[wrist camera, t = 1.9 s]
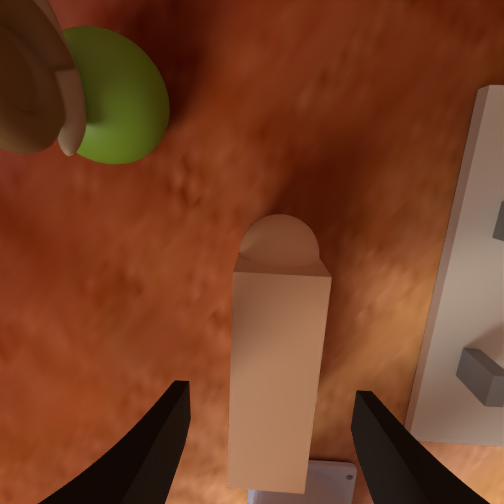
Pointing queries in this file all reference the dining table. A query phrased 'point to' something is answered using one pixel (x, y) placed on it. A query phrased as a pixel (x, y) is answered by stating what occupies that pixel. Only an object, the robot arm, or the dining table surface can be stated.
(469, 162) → the cradle jig
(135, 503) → the robot arm
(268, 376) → the block
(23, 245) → the dining table surface
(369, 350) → the dining table surface
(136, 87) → the snail figurine
